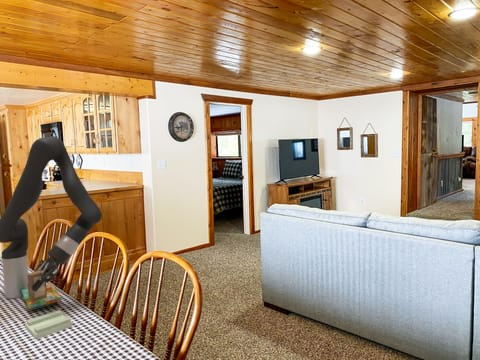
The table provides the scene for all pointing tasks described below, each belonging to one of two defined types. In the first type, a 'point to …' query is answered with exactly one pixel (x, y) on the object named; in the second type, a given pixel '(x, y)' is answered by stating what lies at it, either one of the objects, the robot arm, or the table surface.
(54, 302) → the puzzle game
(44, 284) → the wooden block
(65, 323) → the plinth
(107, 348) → the table surface
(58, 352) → the table surface
